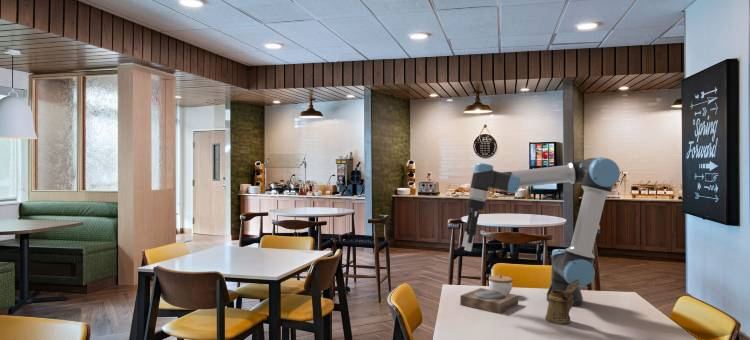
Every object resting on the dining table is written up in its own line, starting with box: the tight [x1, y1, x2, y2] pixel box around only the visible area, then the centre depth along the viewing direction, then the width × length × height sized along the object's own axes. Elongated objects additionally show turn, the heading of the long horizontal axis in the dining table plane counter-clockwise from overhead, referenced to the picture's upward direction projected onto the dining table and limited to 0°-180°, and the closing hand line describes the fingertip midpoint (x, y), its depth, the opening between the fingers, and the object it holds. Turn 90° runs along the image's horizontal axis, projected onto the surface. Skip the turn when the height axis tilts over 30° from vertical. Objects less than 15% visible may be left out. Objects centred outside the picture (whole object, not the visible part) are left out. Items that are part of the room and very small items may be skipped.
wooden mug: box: [544, 279, 580, 325], centre depth 195 cm, size 9×14×18 cm, turn 28°
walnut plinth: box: [459, 287, 519, 314], centre depth 217 cm, size 18×18×4 cm
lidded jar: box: [488, 273, 514, 294], centre depth 235 cm, size 11×11×9 cm
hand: (466, 248), depth 214 cm, fingers open, 13 cm apart
